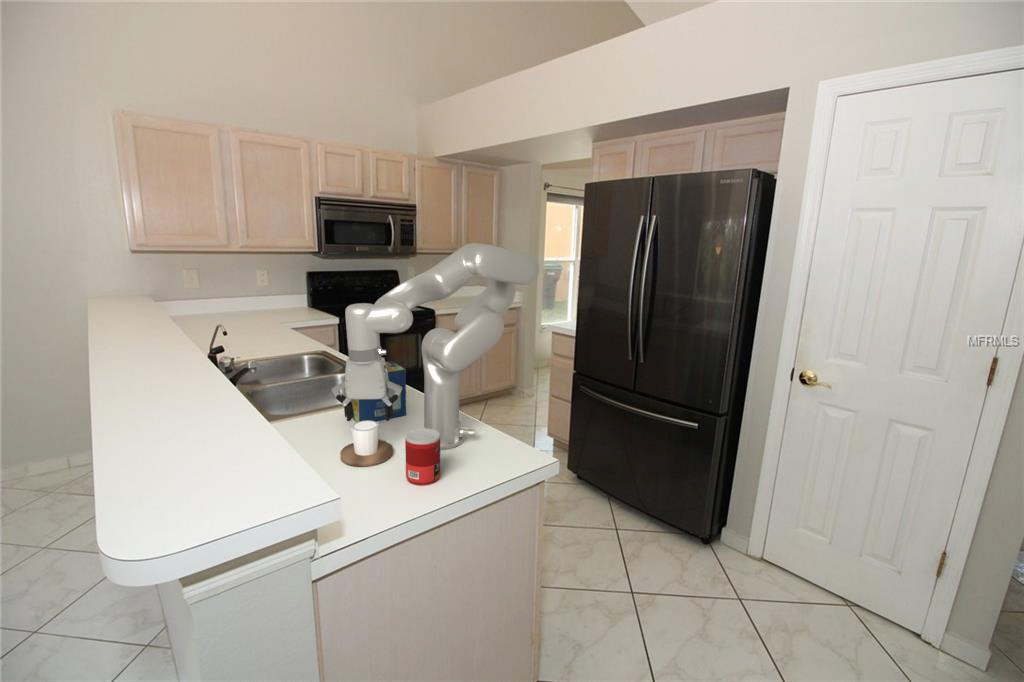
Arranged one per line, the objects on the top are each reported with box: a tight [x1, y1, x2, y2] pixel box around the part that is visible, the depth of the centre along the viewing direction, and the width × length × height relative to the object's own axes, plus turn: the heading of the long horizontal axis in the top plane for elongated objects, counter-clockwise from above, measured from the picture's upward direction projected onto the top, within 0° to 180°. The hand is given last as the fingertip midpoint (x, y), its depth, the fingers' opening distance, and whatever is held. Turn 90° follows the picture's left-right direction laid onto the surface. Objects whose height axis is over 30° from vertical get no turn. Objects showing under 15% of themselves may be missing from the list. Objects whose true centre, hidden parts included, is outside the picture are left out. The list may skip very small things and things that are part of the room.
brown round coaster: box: [339, 439, 394, 468], centre depth 123 cm, size 13×13×1 cm
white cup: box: [350, 420, 380, 456], centre depth 122 cm, size 7×7×7 cm
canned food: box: [404, 427, 441, 486], centre depth 112 cm, size 8×8×11 cm
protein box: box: [351, 360, 407, 423], centre depth 147 cm, size 10×15×16 cm
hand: (369, 419), depth 121 cm, fingers open, 9 cm apart
